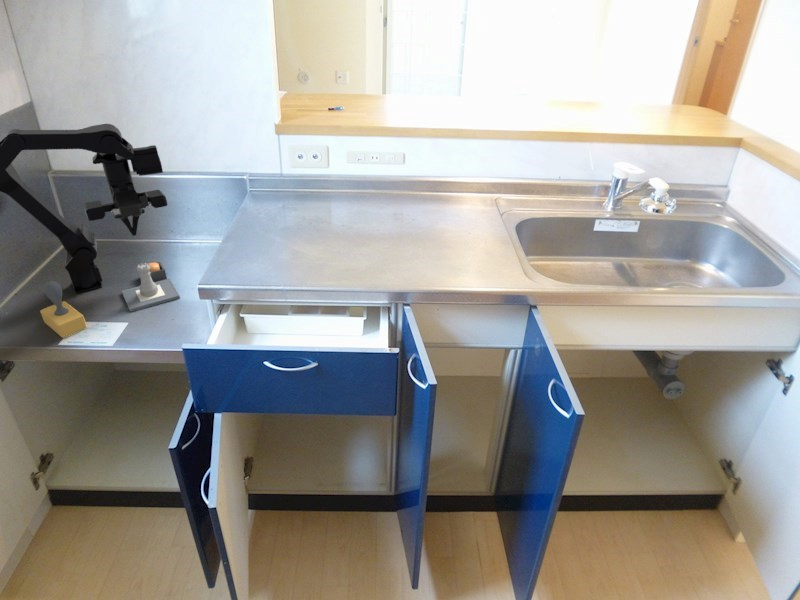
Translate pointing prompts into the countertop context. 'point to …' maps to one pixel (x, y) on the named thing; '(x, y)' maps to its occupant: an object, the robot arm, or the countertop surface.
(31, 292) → the countertop surface
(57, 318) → the rubber stamp
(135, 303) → the slate board
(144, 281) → the rook chess piece
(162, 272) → the button housing
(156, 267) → the button
